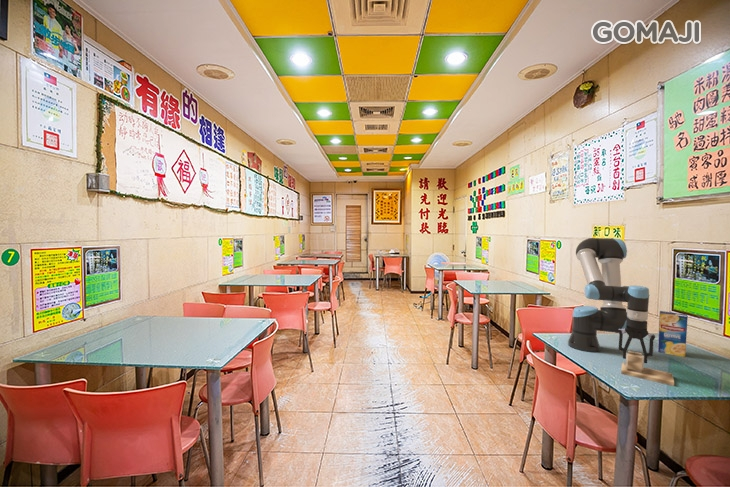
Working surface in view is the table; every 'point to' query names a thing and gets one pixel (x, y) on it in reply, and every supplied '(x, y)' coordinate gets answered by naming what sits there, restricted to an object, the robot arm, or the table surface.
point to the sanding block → (634, 361)
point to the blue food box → (672, 333)
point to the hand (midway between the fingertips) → (634, 367)
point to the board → (650, 375)
